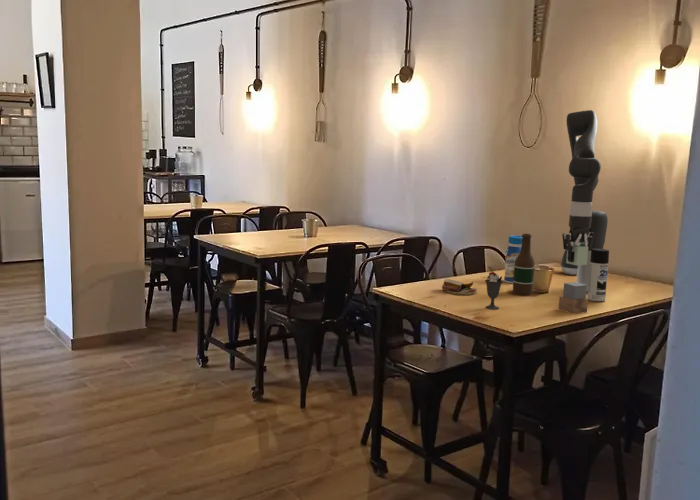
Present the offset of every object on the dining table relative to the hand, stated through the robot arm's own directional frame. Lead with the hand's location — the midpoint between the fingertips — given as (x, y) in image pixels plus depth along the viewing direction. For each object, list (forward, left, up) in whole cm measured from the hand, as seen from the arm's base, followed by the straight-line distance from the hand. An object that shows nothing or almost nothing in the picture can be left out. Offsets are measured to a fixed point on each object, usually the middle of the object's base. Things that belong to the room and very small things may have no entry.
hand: (576, 261), depth 244 cm
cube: (0, 0, -13) cm, 13 cm away
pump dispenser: (-43, -61, -18) cm, 77 cm away
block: (0, 0, -1) cm, 1 cm away
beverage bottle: (-5, -49, -18) cm, 52 cm away
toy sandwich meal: (+28, -35, -19) cm, 49 cm away
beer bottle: (+3, -29, -18) cm, 34 cm away
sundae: (+28, -9, -18) cm, 35 cm away
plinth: (0, 0, -18) cm, 18 cm away
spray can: (-20, -13, -18) cm, 30 cm away
